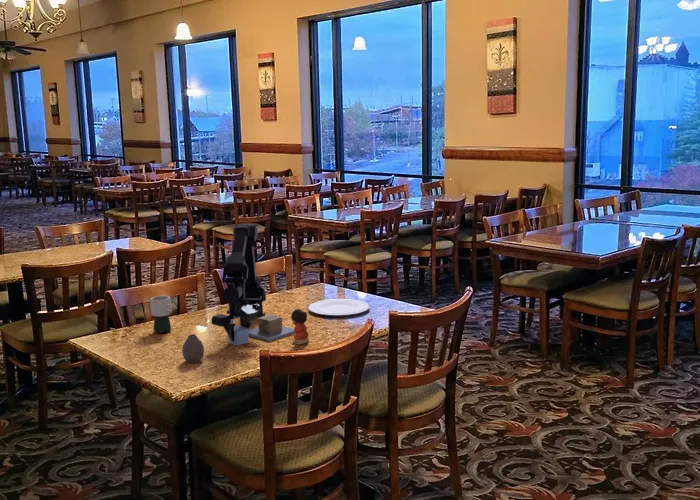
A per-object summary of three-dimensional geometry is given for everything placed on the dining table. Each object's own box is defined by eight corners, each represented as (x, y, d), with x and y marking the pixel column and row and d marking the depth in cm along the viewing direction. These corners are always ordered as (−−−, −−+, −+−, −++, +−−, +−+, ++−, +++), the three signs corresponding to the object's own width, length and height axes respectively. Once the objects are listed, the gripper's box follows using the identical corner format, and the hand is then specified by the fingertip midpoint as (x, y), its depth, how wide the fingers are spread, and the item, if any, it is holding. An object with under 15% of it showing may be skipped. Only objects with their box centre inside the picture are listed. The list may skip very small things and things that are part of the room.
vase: (184, 358, 234) (182, 332, 232) (205, 357, 234) (204, 331, 233) (181, 365, 227) (179, 339, 225) (203, 364, 227) (201, 338, 226)
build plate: (243, 334, 258) (243, 331, 258) (272, 325, 268) (271, 323, 268) (268, 341, 249) (268, 339, 249) (297, 332, 259) (297, 330, 259)
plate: (380, 307, 292) (380, 303, 292) (348, 322, 272) (348, 318, 271) (330, 300, 306) (330, 296, 305) (295, 314, 285) (295, 309, 284)
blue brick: (228, 342, 249) (228, 328, 248) (239, 339, 253) (239, 325, 252) (237, 345, 246) (237, 331, 245) (248, 341, 249) (248, 328, 248)
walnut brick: (258, 331, 258) (258, 317, 257) (271, 327, 263) (270, 314, 262) (269, 334, 254) (269, 320, 253) (282, 330, 259) (281, 317, 258)
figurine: (312, 340, 250) (311, 307, 248) (306, 345, 245) (305, 311, 242) (295, 339, 252) (294, 306, 250) (289, 343, 247) (288, 310, 244)
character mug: (180, 331, 263) (178, 297, 261) (165, 336, 257) (163, 301, 255) (159, 327, 269) (157, 293, 266) (145, 332, 263) (142, 298, 261)
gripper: (230, 305, 234) (232, 350, 237) (272, 294, 248) (273, 337, 250) (209, 300, 241) (211, 344, 244) (251, 290, 255) (253, 331, 258)
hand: (238, 339), depth 249 cm, fingers closed on blue brick, 5 cm apart
